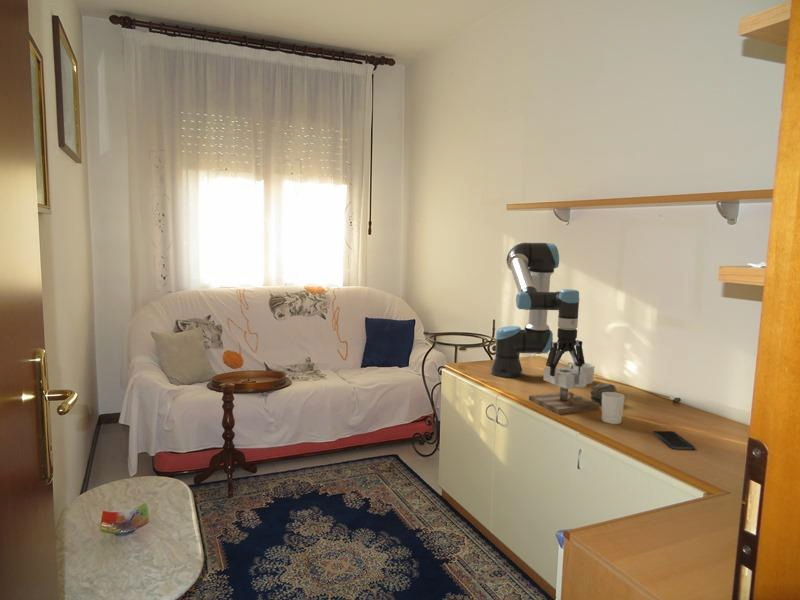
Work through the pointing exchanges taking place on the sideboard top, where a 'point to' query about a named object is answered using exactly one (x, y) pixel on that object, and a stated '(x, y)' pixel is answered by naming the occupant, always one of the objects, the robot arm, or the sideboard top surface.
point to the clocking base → (564, 402)
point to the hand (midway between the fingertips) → (564, 382)
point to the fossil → (601, 391)
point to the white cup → (612, 407)
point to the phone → (673, 440)
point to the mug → (585, 370)
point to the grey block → (567, 377)
